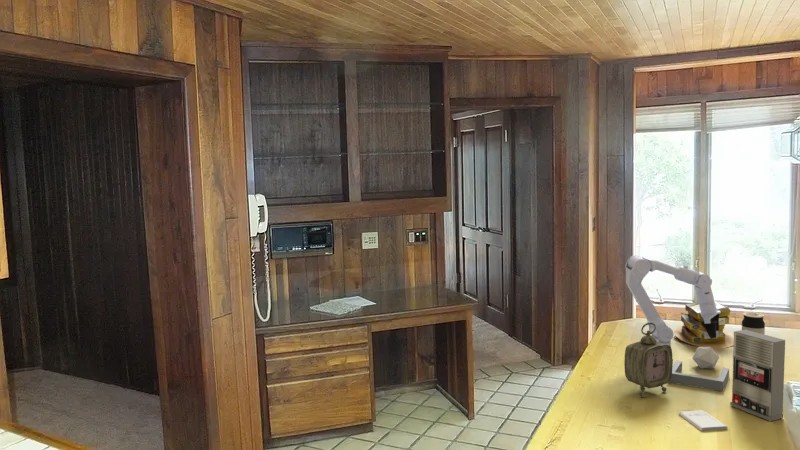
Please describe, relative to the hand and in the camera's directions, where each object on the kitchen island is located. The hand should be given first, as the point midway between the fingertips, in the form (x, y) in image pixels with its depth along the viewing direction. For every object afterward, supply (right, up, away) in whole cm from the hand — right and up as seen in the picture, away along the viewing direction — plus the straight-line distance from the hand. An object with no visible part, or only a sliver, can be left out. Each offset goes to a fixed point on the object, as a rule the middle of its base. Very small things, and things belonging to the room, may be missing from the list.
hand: (714, 334), depth 243 cm
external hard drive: (-31, -18, -54) cm, 65 cm away
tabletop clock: (-39, -15, -29) cm, 51 cm away
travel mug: (+17, -10, +4) cm, 20 cm away
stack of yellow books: (+11, -8, +29) cm, 32 cm away
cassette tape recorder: (-12, -17, -48) cm, 52 cm away
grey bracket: (-15, -13, -18) cm, 27 cm away
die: (-6, -12, -6) cm, 15 cm away
